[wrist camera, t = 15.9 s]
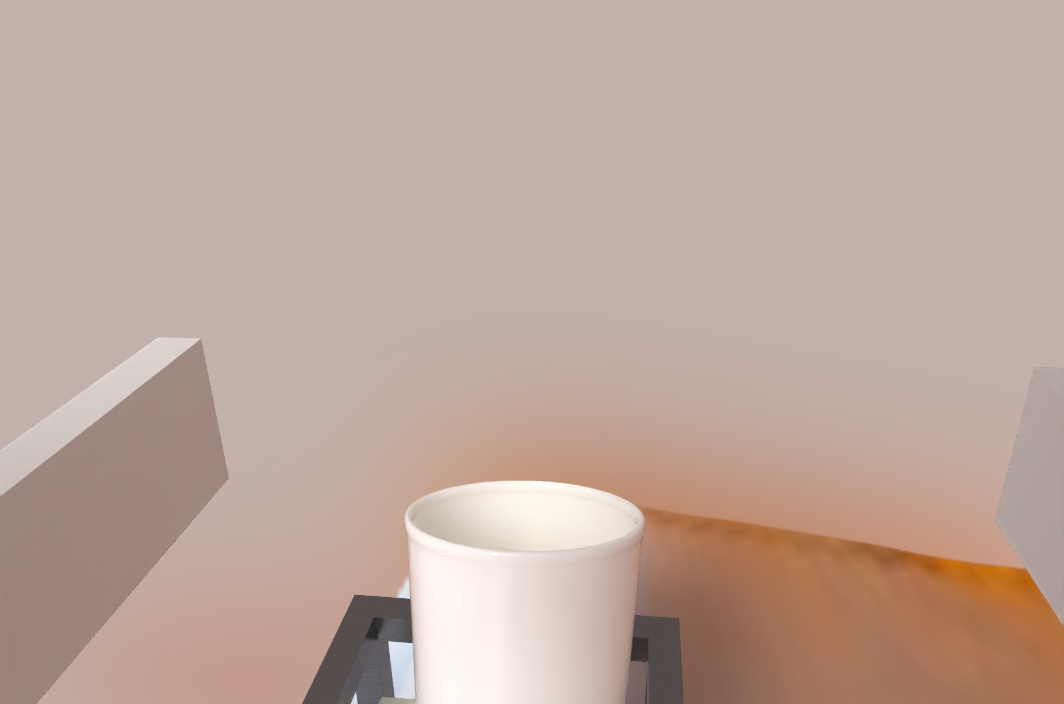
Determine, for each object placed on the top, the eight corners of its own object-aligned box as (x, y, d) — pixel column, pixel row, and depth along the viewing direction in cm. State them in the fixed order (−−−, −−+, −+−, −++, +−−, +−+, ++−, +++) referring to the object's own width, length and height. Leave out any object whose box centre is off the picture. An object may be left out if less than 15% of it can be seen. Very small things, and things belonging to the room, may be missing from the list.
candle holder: (438, 711, 40) (440, 474, 39) (638, 732, 39) (647, 486, 38) (369, 851, 31) (369, 542, 29) (631, 886, 29) (643, 562, 28)
